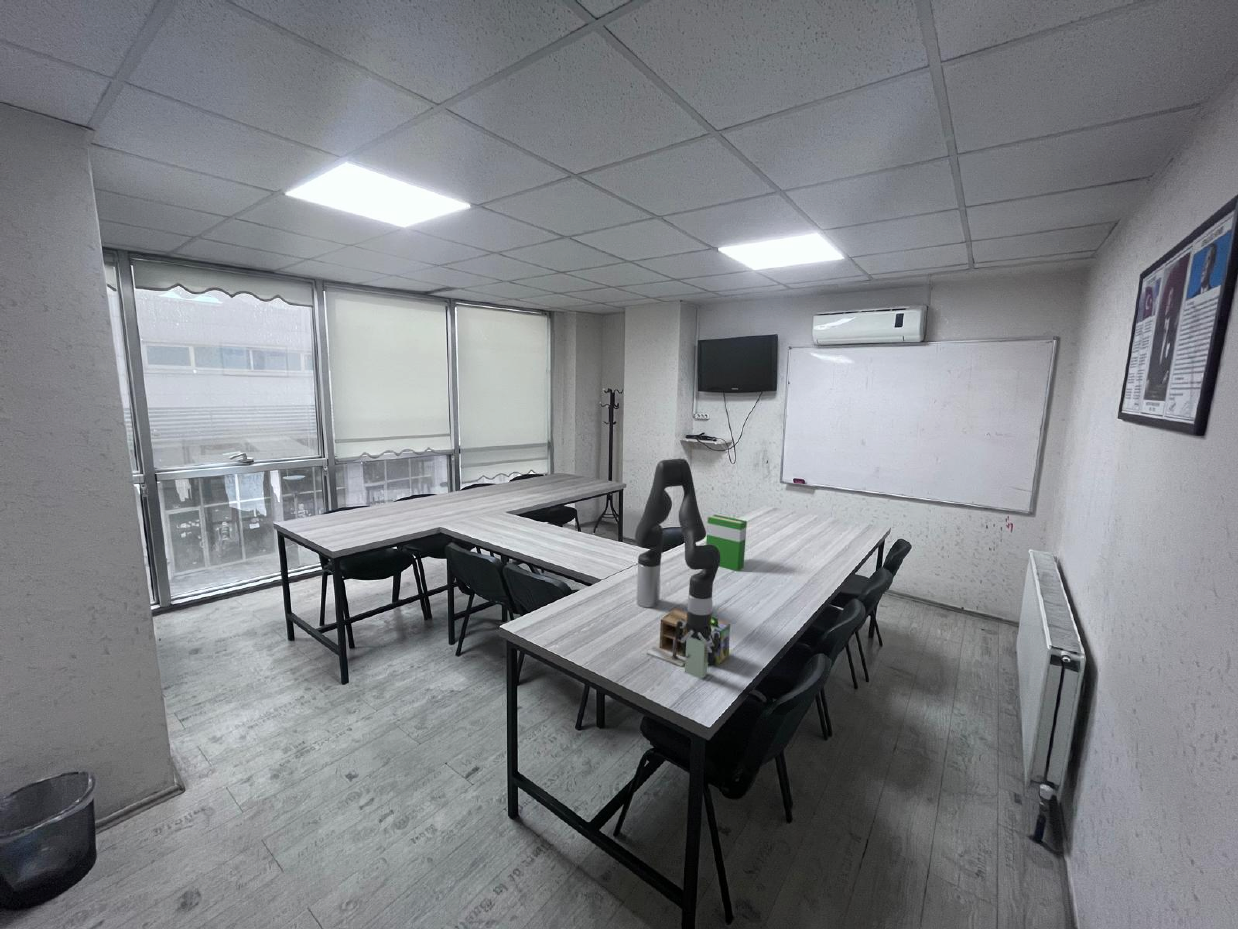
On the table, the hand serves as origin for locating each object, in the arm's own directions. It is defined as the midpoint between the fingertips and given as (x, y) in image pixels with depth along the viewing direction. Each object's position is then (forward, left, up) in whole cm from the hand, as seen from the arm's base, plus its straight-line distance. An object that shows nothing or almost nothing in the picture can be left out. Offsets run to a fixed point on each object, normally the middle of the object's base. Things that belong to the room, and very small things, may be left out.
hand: (696, 657), depth 154 cm
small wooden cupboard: (-8, -12, -5) cm, 15 cm away
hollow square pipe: (0, 0, -5) cm, 5 cm away
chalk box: (-12, 0, -6) cm, 13 cm away
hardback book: (-96, -30, -6) cm, 101 cm away
